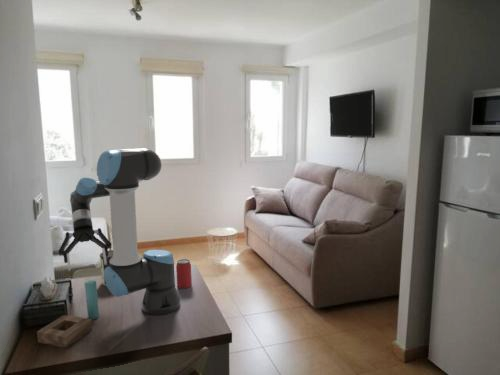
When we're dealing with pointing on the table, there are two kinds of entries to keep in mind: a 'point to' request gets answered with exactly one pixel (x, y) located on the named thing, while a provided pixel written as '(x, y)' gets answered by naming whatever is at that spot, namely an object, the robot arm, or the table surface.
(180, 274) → the beer can
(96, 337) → the table surface
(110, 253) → the coffee can
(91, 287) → the teal pin
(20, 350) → the table surface
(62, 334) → the walnut hole block
